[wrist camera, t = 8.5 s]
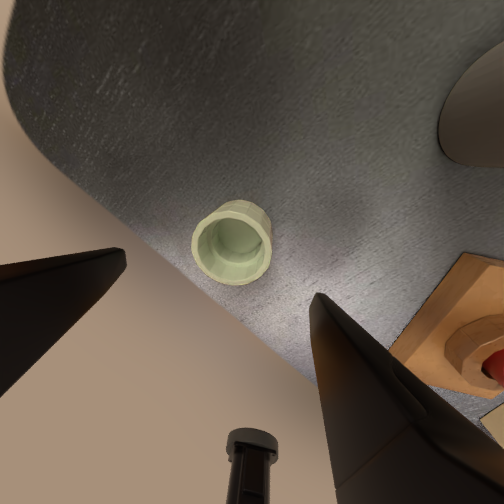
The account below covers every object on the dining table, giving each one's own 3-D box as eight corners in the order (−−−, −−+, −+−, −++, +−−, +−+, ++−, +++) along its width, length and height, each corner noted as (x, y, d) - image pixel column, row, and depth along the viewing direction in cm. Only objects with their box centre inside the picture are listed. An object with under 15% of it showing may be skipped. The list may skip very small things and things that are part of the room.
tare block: (472, 378, 19) (511, 421, 16) (382, 357, 19) (403, 396, 16) (589, 279, 13) (684, 314, 10) (463, 252, 14) (520, 278, 10)
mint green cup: (264, 263, 16) (261, 292, 12) (208, 250, 16) (189, 276, 12) (279, 206, 14) (280, 222, 10) (214, 192, 14) (193, 203, 10)
